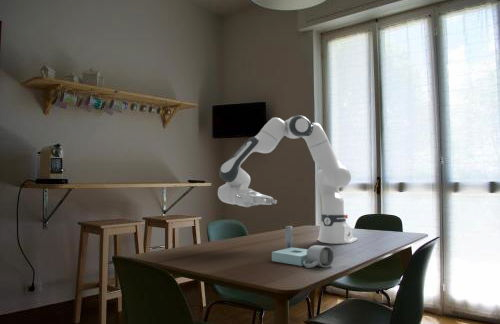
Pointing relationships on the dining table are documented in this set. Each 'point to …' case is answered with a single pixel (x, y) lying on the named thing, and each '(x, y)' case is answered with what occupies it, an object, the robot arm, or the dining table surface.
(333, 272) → the dining table surface
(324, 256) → the ceramic mug
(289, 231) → the pin
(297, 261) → the socket block
